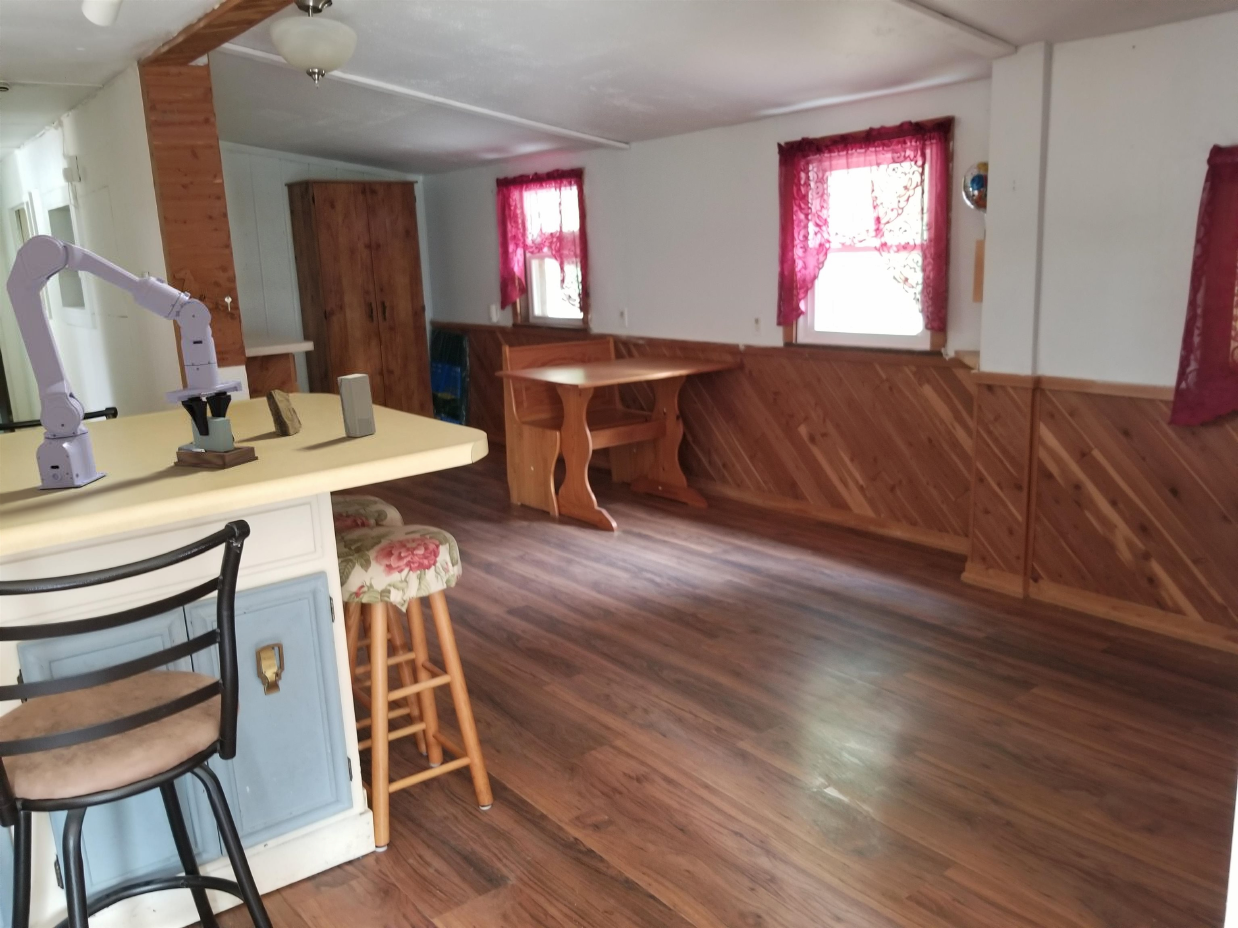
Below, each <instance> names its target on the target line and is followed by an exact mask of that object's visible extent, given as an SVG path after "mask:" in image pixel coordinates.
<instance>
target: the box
mask: <svg viewBox="0 0 1238 928" xmlns="http://www.w3.org/2000/svg"><path fill="white" fill-rule="evenodd" d="M337 383H338V384H337V385H338V390H339V392H338V393H339V398H340V403H341V412H342V419H343V420H342V421H343V425H344V432H345V433H344V434H345V436H347V437H350V438H351V437H353V438H360V437H361V438H362V437H365V436H369V435H372V434H376V433H377V429H376V422H375V421H376V420H375V415H374V408H373V399H372V393H371V385H370V379H369V374H364V373H354V374H353V373H352V374H348V375H344V376H343V375H342V376H339V377H337Z"/></svg>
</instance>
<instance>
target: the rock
mask: <svg viewBox="0 0 1238 928" xmlns="http://www.w3.org/2000/svg"><path fill="white" fill-rule="evenodd" d="M265 399H266V402H267V406H268V408H269V411H270V415H271V417H272V422H273V427H274V430H275V433H276V435H278V436H287V437H289V436H290V437H291V436H294V434H295V435H296V434H297V433H299V432H300V431H301V427H302V426H303V423H302V422H301V420H300V418H299V416H298V413H297V411H296V409H295V408H294V407H293V405H292V403H291V401H290V394H289V393H287V392H284V391H281V390H279V389H273V390H269V391H268V392H266V394H265Z"/></svg>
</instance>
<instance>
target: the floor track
mask: <svg viewBox="0 0 1238 928" xmlns="http://www.w3.org/2000/svg"><path fill="white" fill-rule="evenodd" d="M206 451H207V452H202V450H184V449H183V450H182V449H181V450H176V451H175V453H176V454H175V455H176V460H177V461H173V465H174V466H184V467H194V468H207V469H210V468H211V469H220V470H221V469H222V470H223V469H225V470H226V469H227V470H228V469H229V468H234V467H236V466H237V467H238V466H239V465H243V464H247V463H250V462H253V461H258V460H259V456H256V450H255V446H245V445H234V449H233V450H228V451H224V452H219V451H212V450H206Z"/></svg>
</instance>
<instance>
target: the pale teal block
mask: <svg viewBox="0 0 1238 928" xmlns="http://www.w3.org/2000/svg"><path fill="white" fill-rule="evenodd" d="M230 419H231V418H230V417H225V418H221V417H212V416H211V415H209V416H208V415H207V421H208V428H209V436H200V434H199V432H198V429H197V427H196V425H195V423H194V421H193V419H192V418H191V417H190V423H191V429H192V430H191V431H192V435H193V442H194V447H195V449H199V450H201V449H204V450H212V451H219V452H224V451H228V450H233V449H234V446H235V445H234V439H233V431H232V427H231V426H232V425H231V420H230Z"/></svg>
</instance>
